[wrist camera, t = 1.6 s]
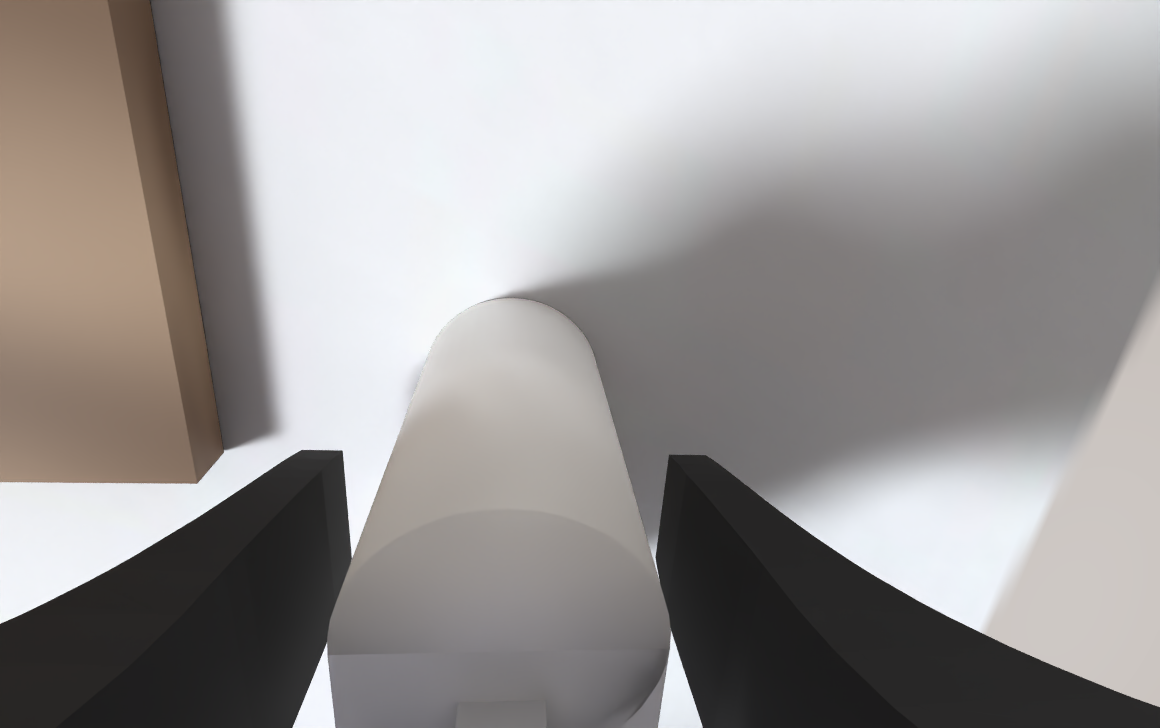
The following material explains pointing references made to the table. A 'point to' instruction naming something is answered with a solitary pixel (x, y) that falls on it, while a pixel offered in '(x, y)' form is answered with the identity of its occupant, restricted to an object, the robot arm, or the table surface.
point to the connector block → (503, 547)
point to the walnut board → (95, 257)
